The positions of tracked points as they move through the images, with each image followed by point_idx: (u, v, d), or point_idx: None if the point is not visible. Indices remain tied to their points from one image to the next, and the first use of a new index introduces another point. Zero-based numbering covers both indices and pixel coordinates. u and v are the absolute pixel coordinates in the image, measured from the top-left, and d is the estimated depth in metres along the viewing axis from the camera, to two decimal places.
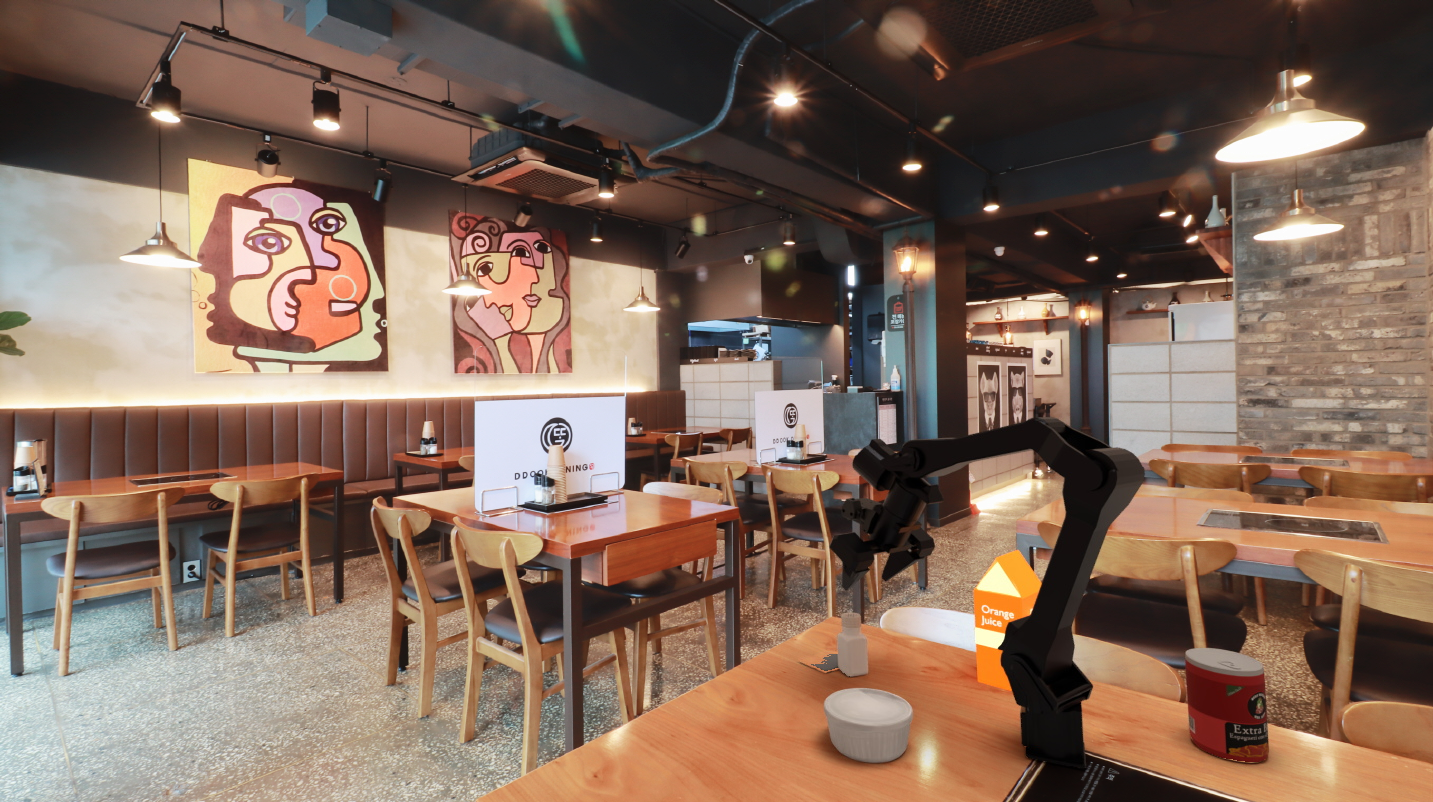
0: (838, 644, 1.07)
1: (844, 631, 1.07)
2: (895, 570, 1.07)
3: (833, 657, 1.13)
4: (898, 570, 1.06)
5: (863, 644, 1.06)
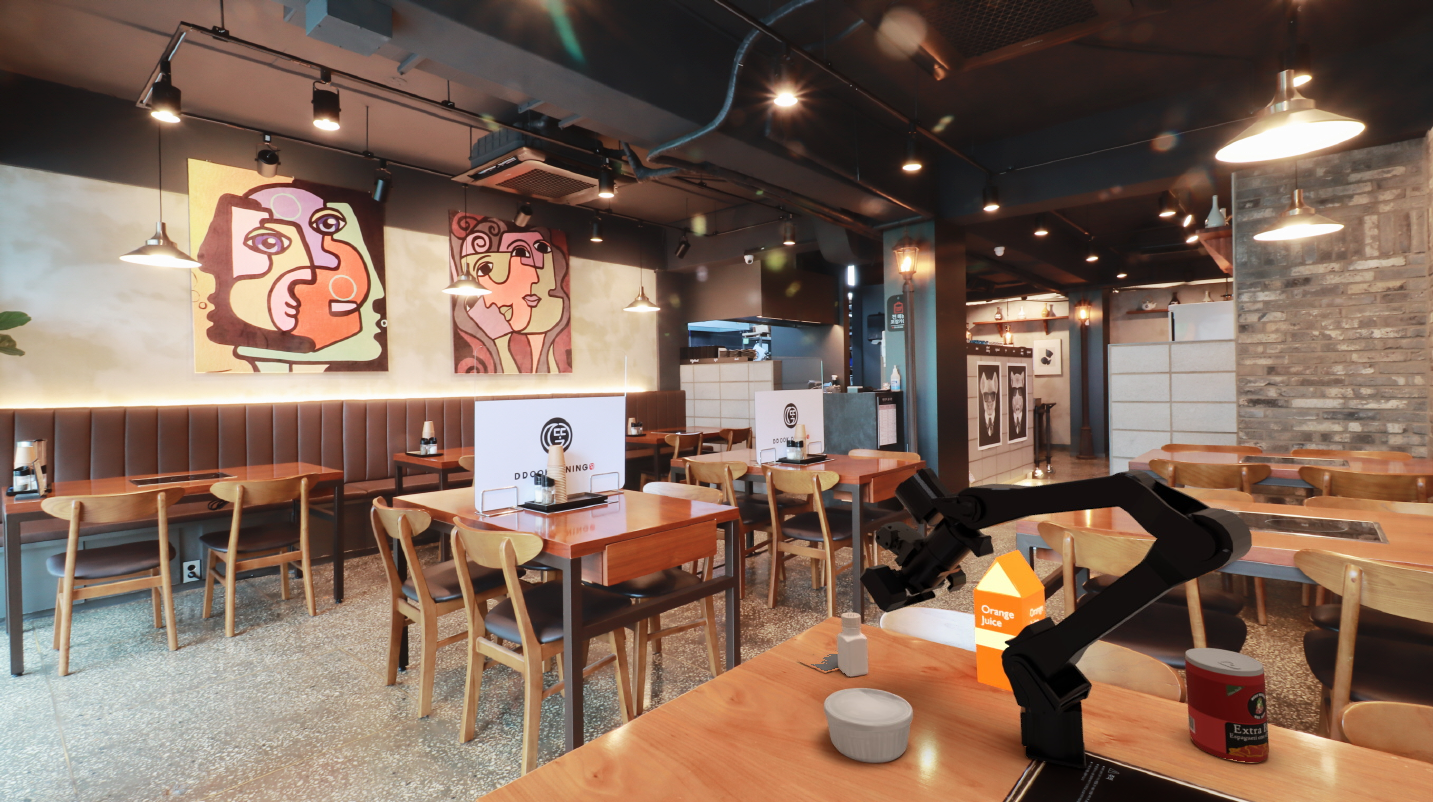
0: (838, 644, 1.07)
1: (844, 631, 1.07)
2: None
3: (833, 657, 1.13)
4: None
5: (863, 644, 1.06)
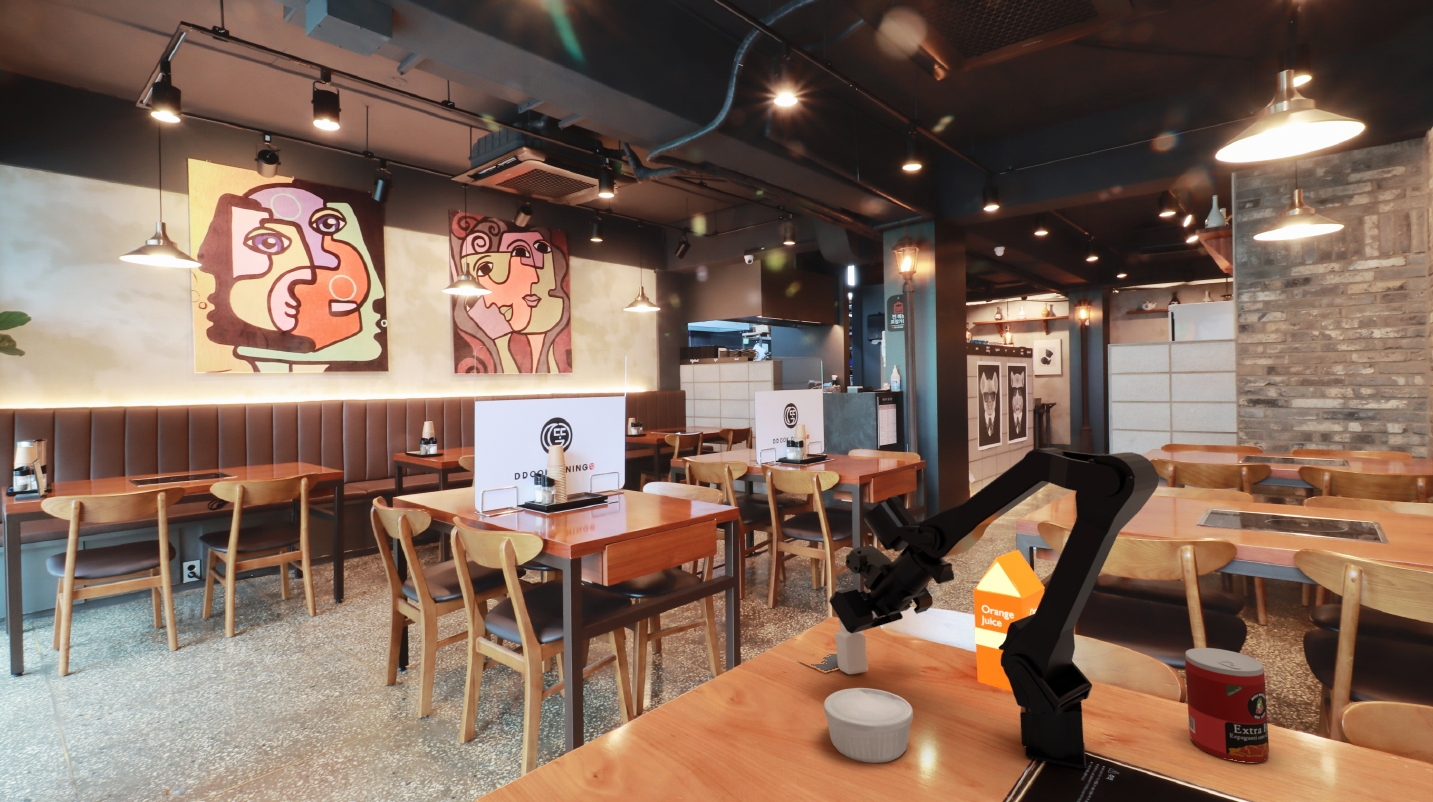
0: (837, 642, 1.08)
1: (842, 628, 1.07)
2: None
3: (833, 657, 1.13)
4: None
5: (861, 640, 1.06)
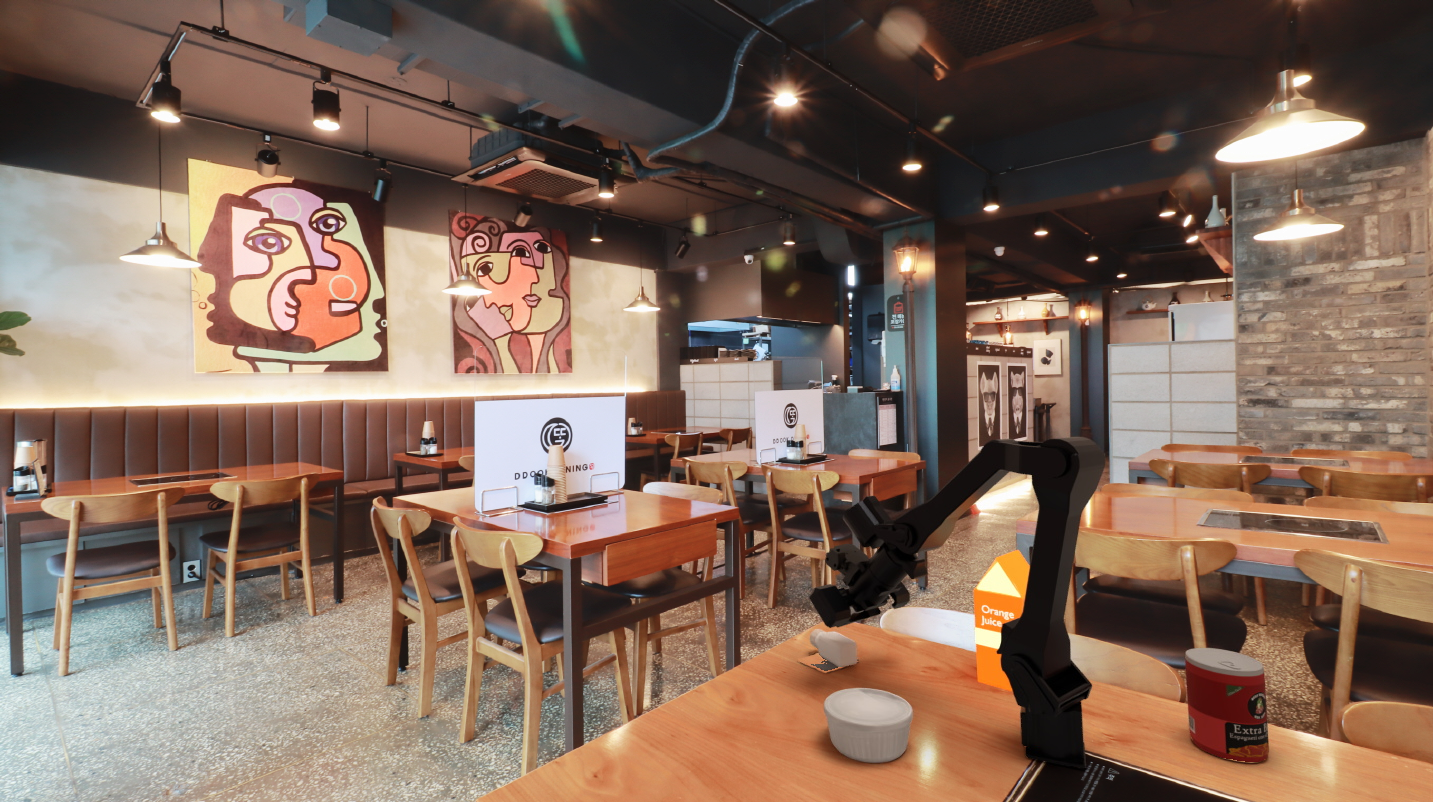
0: (823, 654, 1.12)
1: (817, 641, 1.14)
2: None
3: None
4: None
5: (835, 633, 1.14)
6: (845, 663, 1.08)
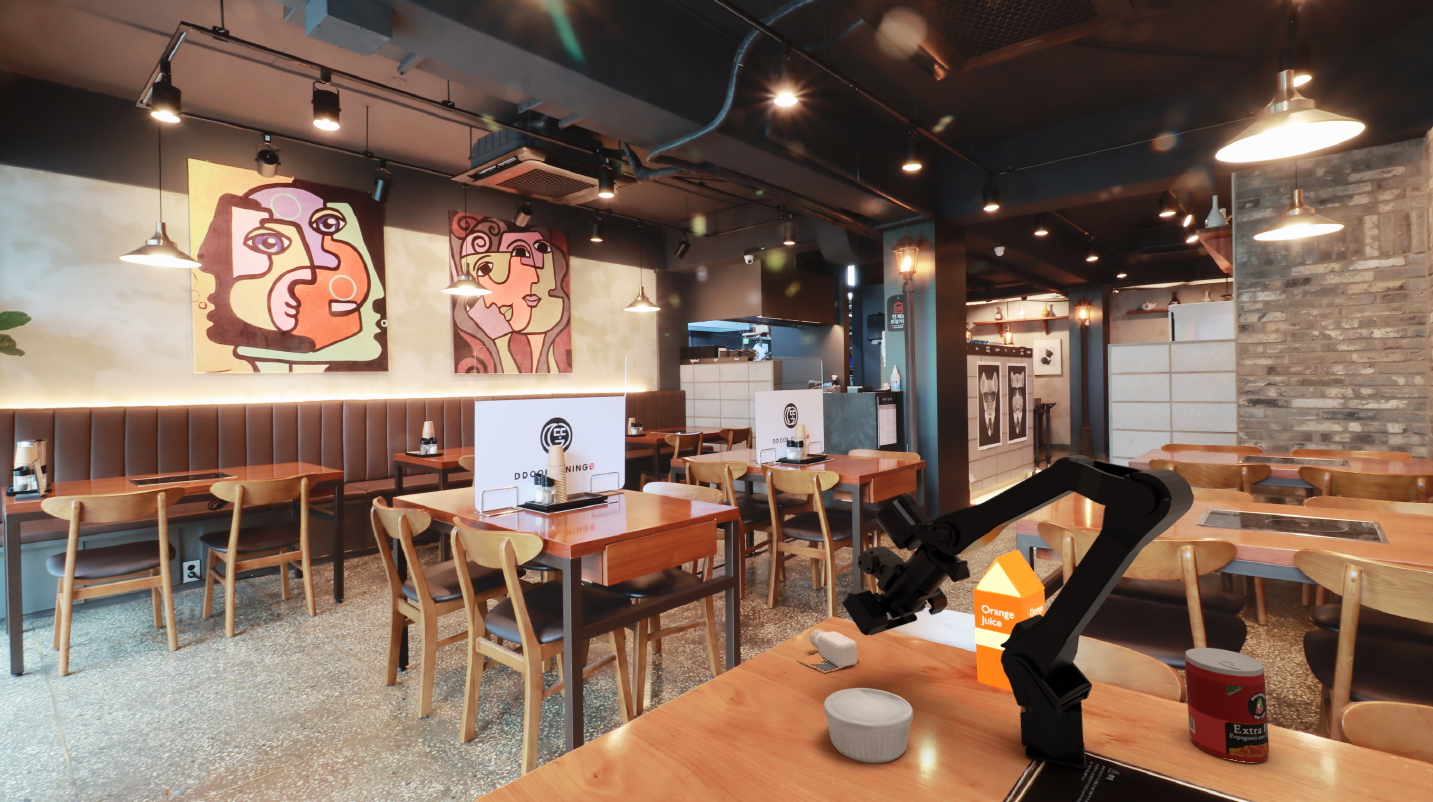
0: (823, 654, 1.12)
1: (817, 641, 1.14)
2: None
3: None
4: None
5: (835, 633, 1.14)
6: (845, 663, 1.08)
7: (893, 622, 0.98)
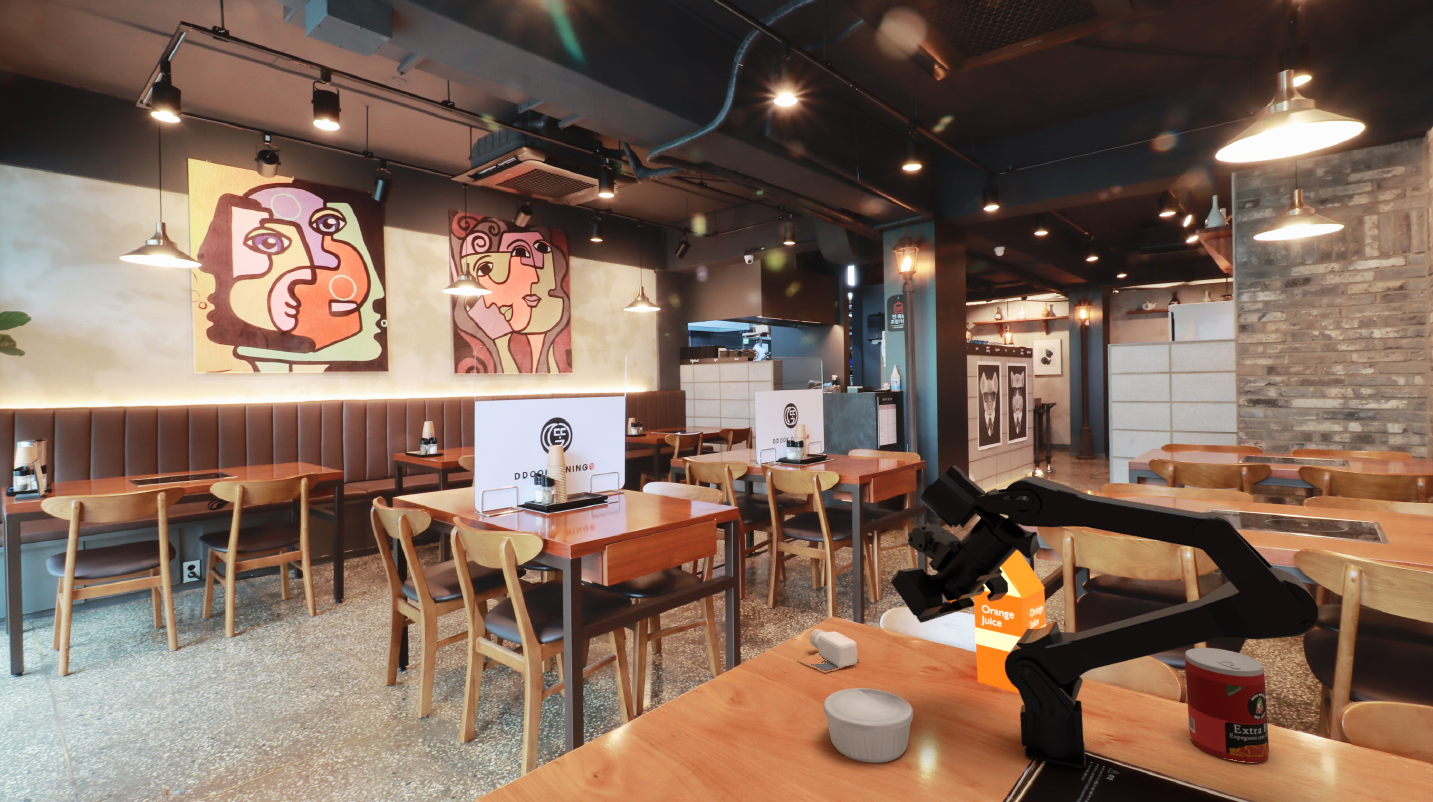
0: (823, 654, 1.12)
1: (817, 641, 1.14)
2: None
3: None
4: None
5: (835, 633, 1.14)
6: (845, 663, 1.08)
7: (948, 606, 0.88)
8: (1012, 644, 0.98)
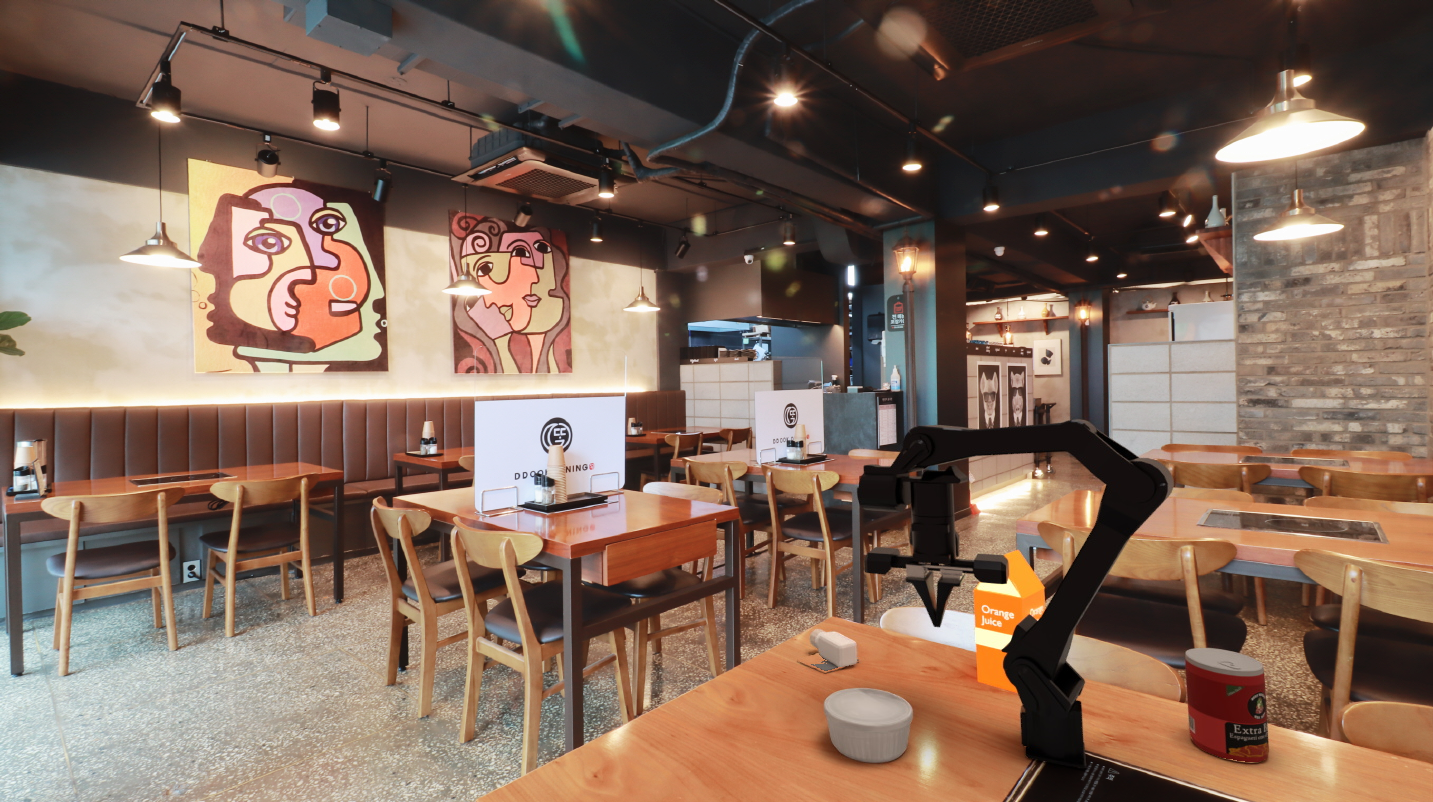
0: (823, 654, 1.12)
1: (817, 641, 1.14)
2: None
3: None
4: (936, 604, 0.88)
5: (835, 633, 1.14)
6: (845, 663, 1.08)
7: (919, 578, 0.88)
8: None
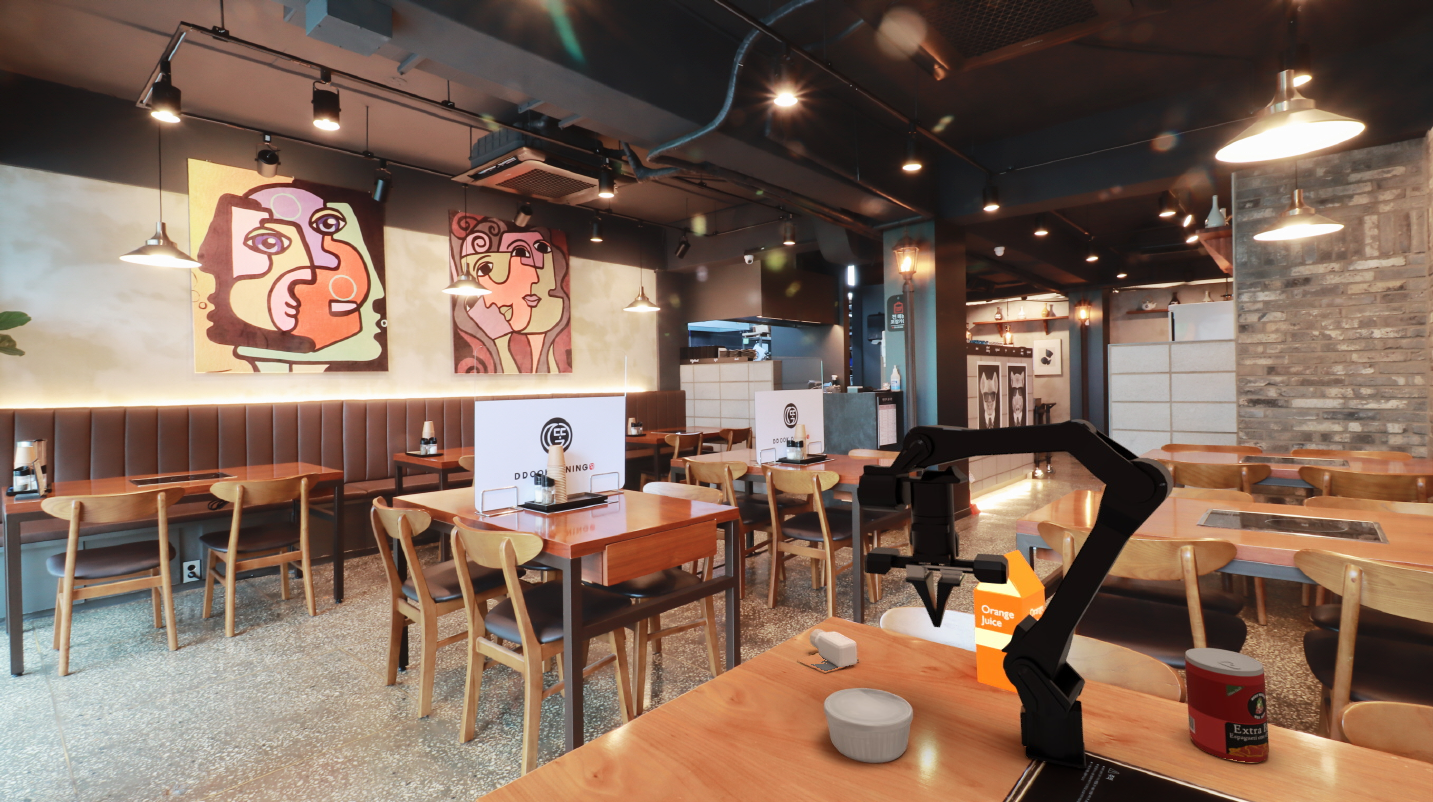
0: (823, 654, 1.12)
1: (817, 641, 1.14)
2: None
3: None
4: (936, 604, 0.88)
5: (835, 633, 1.14)
6: (845, 663, 1.08)
7: (919, 578, 0.88)
8: None
